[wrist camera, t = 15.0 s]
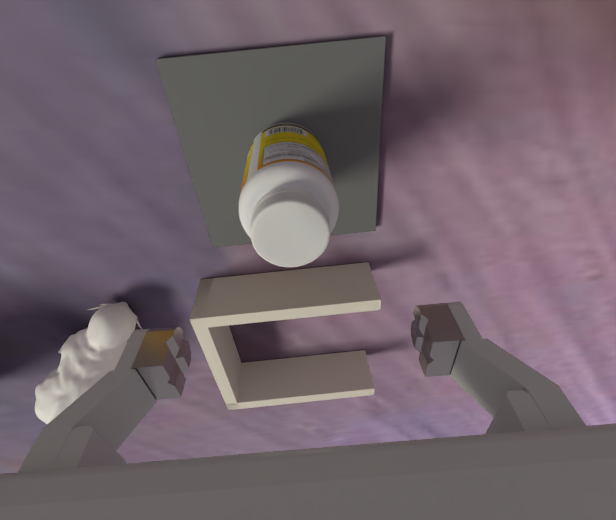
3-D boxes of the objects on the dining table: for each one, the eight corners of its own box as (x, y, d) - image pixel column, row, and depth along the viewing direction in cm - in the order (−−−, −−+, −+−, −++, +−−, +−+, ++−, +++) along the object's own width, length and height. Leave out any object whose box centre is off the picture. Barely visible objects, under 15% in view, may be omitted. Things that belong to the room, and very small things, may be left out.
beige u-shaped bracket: (368, 262, 32) (380, 299, 28) (364, 356, 41) (373, 394, 37) (200, 279, 32) (189, 319, 28) (233, 369, 41) (228, 409, 37)
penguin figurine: (10, 429, 29) (52, 342, 25) (58, 353, 36) (98, 274, 32) (88, 445, 32) (139, 369, 27) (119, 371, 39) (163, 301, 34)
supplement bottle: (281, 207, 27) (282, 295, 19) (232, 153, 24) (207, 230, 16) (339, 165, 25) (367, 243, 17) (293, 101, 22) (300, 160, 14)
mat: (383, 35, 21) (385, 36, 21) (374, 227, 30) (375, 230, 29) (157, 58, 21) (155, 59, 20) (213, 243, 29) (213, 247, 29)
